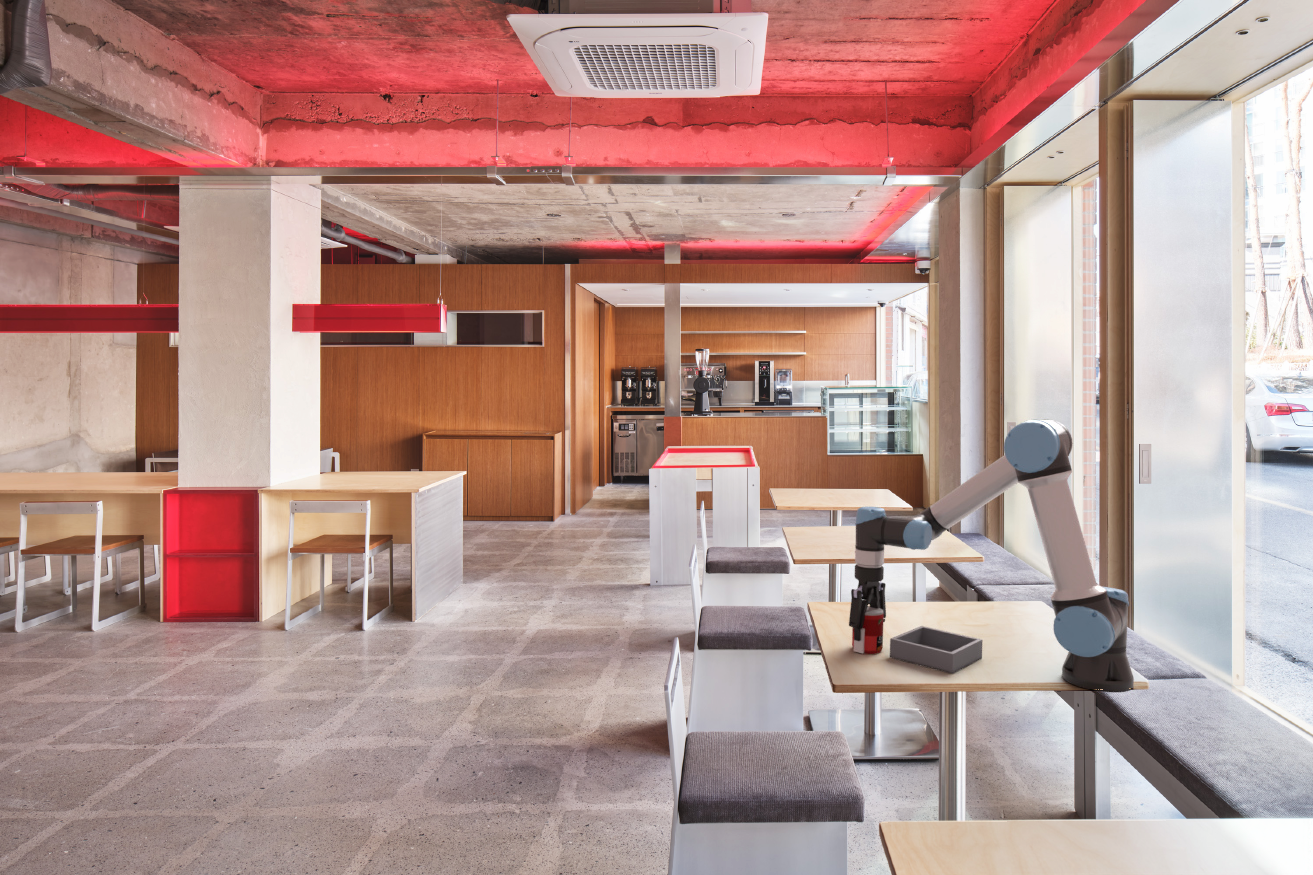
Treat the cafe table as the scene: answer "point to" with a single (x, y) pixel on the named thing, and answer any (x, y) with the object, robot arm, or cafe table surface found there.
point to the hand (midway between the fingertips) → (867, 648)
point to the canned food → (872, 631)
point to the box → (936, 649)
